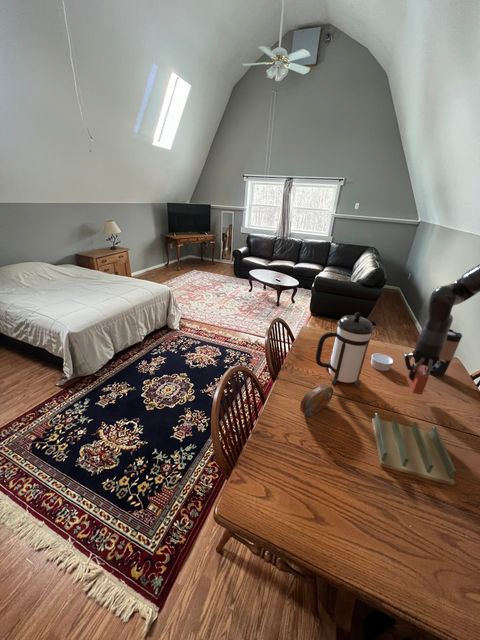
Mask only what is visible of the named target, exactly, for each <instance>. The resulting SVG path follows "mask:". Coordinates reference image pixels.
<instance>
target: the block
mask: <svg viewBox="0 0 480 640" xmlns="http://www.w3.org/2000/svg"><path fill="white" fill-rule="evenodd" d="M412 364H413V362H412V363H411V365H412ZM424 368H425V366H424V365H421V366H420V367H419V368H418V369H417V371H416V374H415V376H414V379H413V380H410V378H409V373H408V374H407V377H406V381H407V383H408V385H409V388H410V391H411V392H412V394H416V395H421V396H422V395H423V393H424V390H425V388H426V386H427V384H428V380H429V378H430V376H429V375H428V374H427V373H426V371H425V369H424Z"/></svg>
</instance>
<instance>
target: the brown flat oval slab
mask: <svg viewBox="0 0 480 640" xmlns="http://www.w3.org/2000/svg"><path fill="white" fill-rule="evenodd" d="M333 395H334V389H333V387H332V386H329V385H327V384H325V383H323V384H320V385H318V386H317V387H316V388H313V389H311V390H310V391H308V392H307V393H306V394H305V395H304V396H303V397H302V399H301V401H300V406H299V407H300V409H299V410H300V412H301V413H303V414H304V415H305V417H311V416H313V415H315V414H316V413H318V412H319V411H321V410H322V409H324V408H325V407H327V406H328V404H329V403H330V402H331V400H332V397H333Z"/></svg>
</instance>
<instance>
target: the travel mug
mask: <svg viewBox="0 0 480 640" xmlns="http://www.w3.org/2000/svg"><path fill="white" fill-rule="evenodd" d="M462 337H463V334H462V333H461V332H457V331H454V330H453V329H449V331H448V335H447V339H446V341H445V344H444V346H443V349H442V351H441V354H440V355H439V357H440V359H444V361H445V362H446V363H447V365H446V366H444V367H443V368H442V369H441V370H440V371H439V372H438V373H436V374H435V375H434V374H430V375H431V376H433V377H437V378H438V377H439V378H443V377H444V376H445V374H446V372H447V371H448V368H449V366H450V365H451V362H452V360H453V358H454V356H455V354H456V351H457V349H458V347H459V344H460V342H461V340H462ZM436 363H437V362H436ZM436 363H434V364H432V367H433V366H434V365H435V364H436Z"/></svg>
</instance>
